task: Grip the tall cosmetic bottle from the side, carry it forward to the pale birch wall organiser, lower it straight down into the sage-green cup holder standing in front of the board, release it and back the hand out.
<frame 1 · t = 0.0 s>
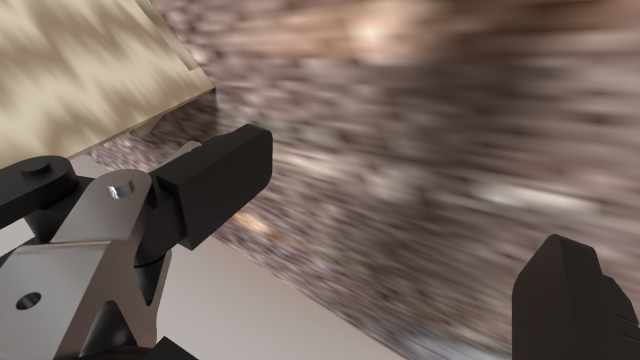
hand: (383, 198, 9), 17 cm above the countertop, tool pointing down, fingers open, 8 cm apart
wall organiser: (129, 71, 40), on the countertop
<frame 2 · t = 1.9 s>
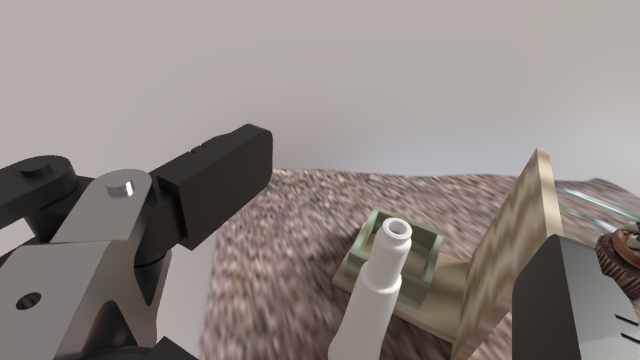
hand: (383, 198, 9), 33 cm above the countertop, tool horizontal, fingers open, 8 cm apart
wall organiser: (388, 270, 47), on the countertop
cupcake: (614, 277, 50), on the countertop
cosmetic bottle: (352, 358, 37), on the countertop
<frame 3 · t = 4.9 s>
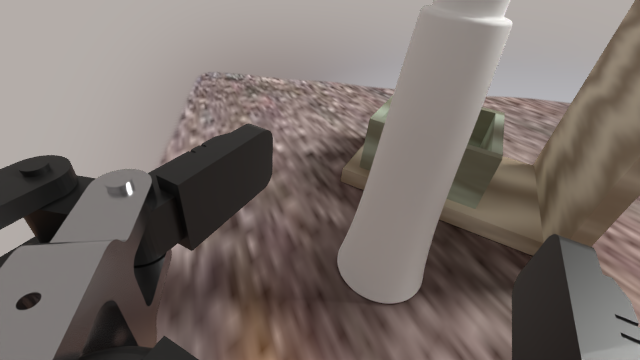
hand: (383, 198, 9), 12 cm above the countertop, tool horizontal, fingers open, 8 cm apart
wall organiser: (421, 172, 33), on the countertop
cosmetic bottle: (378, 267, 22), on the countertop
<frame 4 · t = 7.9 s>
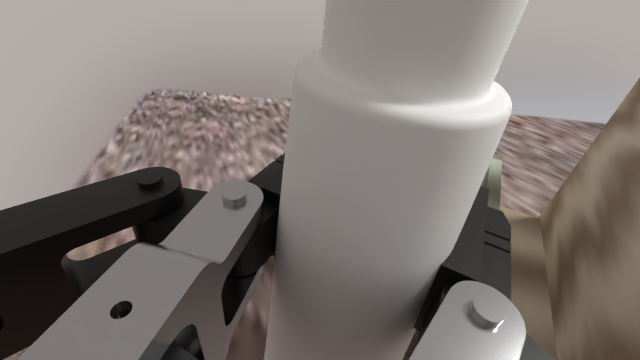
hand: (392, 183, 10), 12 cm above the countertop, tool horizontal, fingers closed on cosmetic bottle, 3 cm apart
wall organiser: (395, 230, 25), on the countertop
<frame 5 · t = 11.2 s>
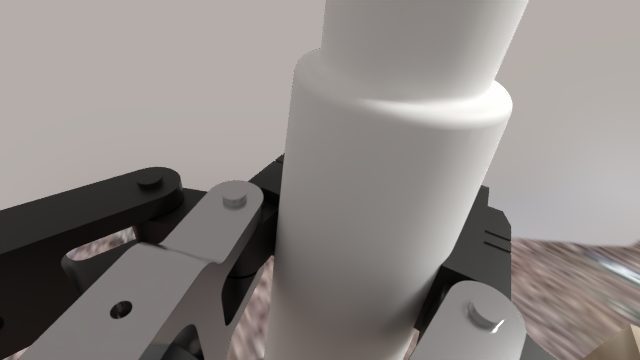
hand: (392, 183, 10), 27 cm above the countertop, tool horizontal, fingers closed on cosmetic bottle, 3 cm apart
when the fingers open (15 cm above the countertop, at t = 14.5 s): cosmetic bottle drops 1 cm, resting on wall organiser.
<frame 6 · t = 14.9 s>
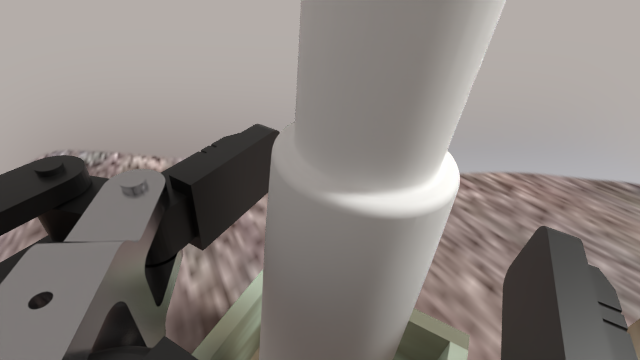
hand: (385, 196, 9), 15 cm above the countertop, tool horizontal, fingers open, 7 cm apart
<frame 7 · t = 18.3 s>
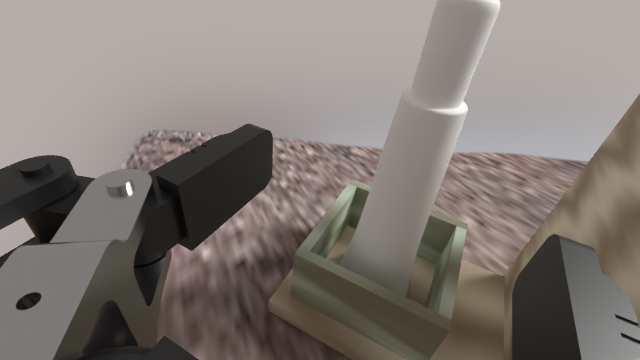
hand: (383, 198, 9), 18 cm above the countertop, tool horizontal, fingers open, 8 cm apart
wall organiser: (371, 287, 27), on the countertop
cosmetic bottle: (372, 279, 27), point 1 cm above the countertop, touching wall organiser
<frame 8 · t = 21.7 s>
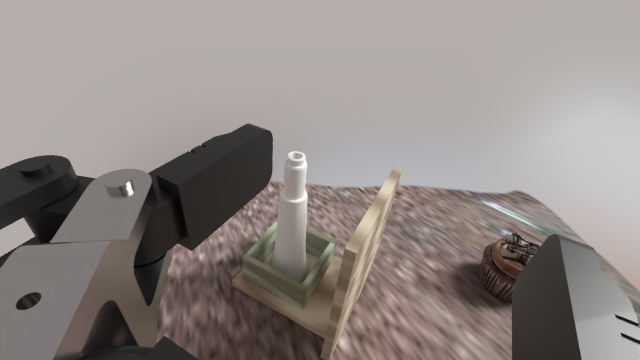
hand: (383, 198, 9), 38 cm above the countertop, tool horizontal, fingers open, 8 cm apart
wall organiser: (289, 274, 51), on the countertop
cupcake: (500, 282, 55), on the countertop
cosmetic bottle: (288, 270, 50), point 1 cm above the countertop, touching wall organiser
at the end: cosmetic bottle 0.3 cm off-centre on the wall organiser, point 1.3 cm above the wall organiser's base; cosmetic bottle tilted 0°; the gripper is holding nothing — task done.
